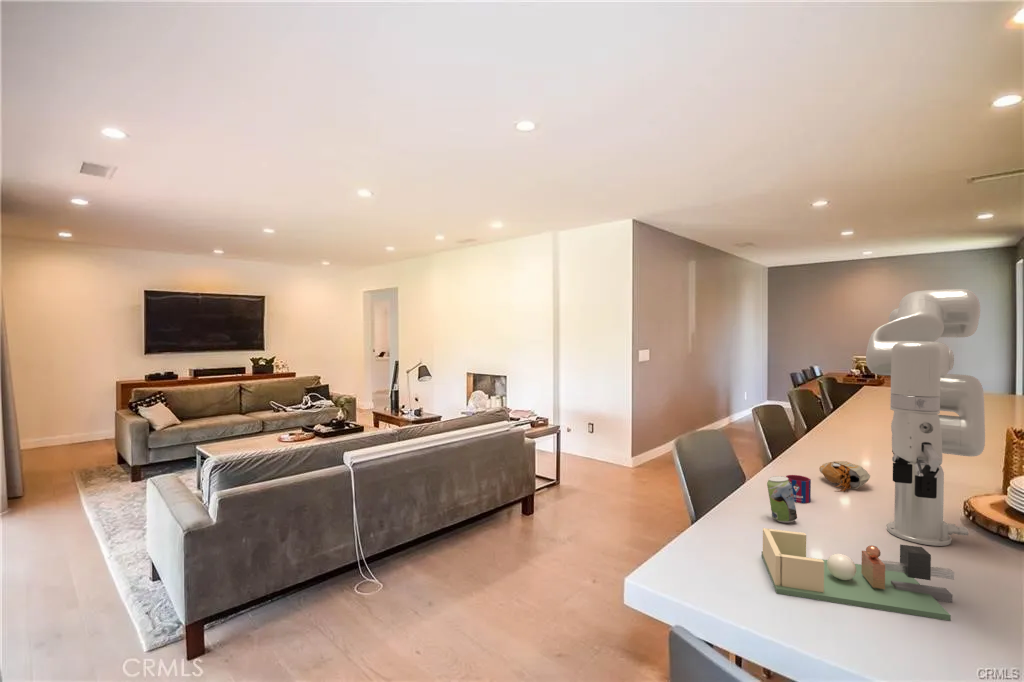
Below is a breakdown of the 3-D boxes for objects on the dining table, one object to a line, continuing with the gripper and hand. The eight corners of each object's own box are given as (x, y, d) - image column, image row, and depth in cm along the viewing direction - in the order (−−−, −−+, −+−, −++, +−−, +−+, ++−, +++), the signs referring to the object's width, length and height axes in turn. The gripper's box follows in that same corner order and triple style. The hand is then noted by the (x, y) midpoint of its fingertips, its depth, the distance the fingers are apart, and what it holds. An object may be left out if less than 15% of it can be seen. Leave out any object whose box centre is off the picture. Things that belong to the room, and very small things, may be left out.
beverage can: (800, 526, 128) (801, 481, 128) (771, 523, 129) (771, 480, 129) (791, 517, 134) (792, 475, 134) (763, 515, 135) (764, 473, 135)
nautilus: (861, 501, 148) (807, 492, 159) (876, 482, 162) (825, 475, 174) (859, 476, 148) (805, 468, 159) (874, 459, 162) (824, 453, 173)
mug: (783, 500, 148) (783, 478, 148) (789, 491, 155) (789, 471, 155) (808, 505, 143) (809, 482, 143) (813, 496, 151) (813, 475, 151)
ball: (851, 574, 100) (851, 551, 100) (860, 586, 95) (860, 562, 95) (823, 571, 102) (823, 548, 101) (831, 582, 97) (831, 558, 97)
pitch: (926, 577, 101) (927, 545, 101) (975, 624, 85) (975, 585, 84) (761, 555, 111) (761, 525, 111) (776, 593, 95) (776, 558, 95)
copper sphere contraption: (943, 584, 95) (944, 547, 95) (960, 600, 90) (961, 561, 89) (860, 572, 100) (860, 537, 100) (871, 587, 94) (872, 549, 94)
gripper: (962, 411, 85) (961, 506, 85) (916, 399, 101) (915, 479, 101) (911, 409, 87) (910, 501, 87) (874, 398, 104) (873, 475, 104)
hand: (913, 489), depth 94 cm, fingers open, 9 cm apart
